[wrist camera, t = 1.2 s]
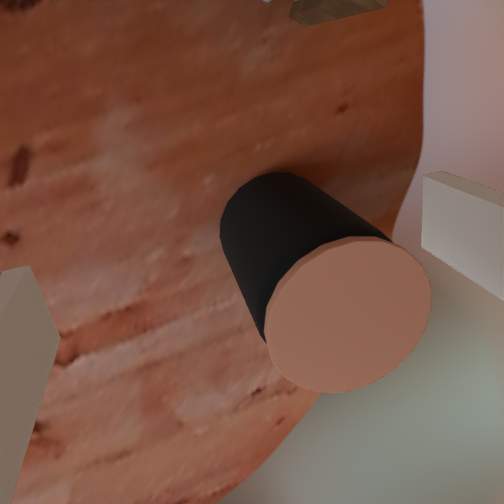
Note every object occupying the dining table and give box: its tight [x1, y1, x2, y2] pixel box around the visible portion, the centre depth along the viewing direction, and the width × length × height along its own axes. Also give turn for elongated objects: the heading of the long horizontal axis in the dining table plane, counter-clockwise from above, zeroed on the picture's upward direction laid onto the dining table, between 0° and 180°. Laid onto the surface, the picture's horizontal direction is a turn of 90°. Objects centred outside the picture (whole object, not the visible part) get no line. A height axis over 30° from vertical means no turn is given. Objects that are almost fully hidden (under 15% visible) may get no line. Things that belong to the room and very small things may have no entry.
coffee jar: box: [220, 173, 431, 394], centre depth 34 cm, size 11×11×18 cm
